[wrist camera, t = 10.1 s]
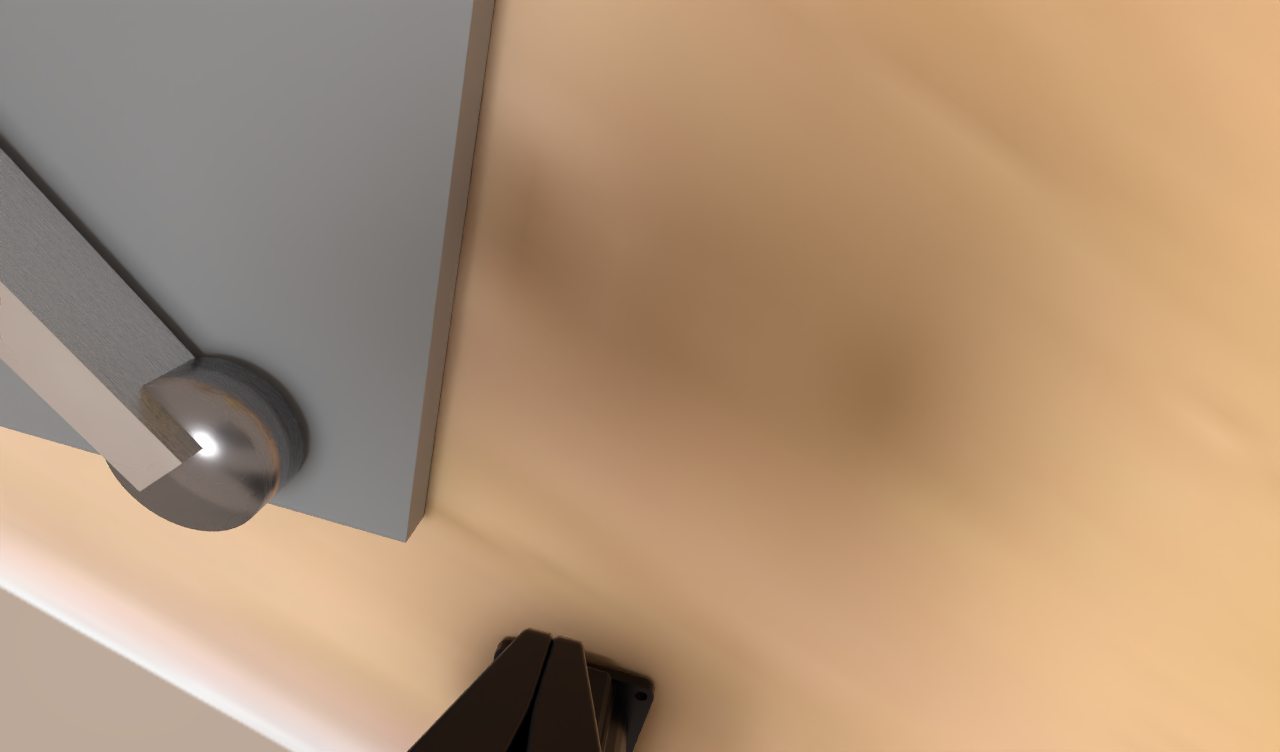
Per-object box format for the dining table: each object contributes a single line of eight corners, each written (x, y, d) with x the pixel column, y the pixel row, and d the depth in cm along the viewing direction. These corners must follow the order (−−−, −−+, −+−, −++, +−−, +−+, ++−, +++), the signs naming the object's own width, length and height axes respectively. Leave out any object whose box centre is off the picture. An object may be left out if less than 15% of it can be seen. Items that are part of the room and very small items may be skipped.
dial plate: (423, 516, 24) (404, 544, 22) (-103, 364, 24) (-156, 383, 22) (515, -146, 15) (493, -168, 14) (-318, -389, 15) (-427, -437, 14)
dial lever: (334, 455, 21) (279, 510, 18) (235, 514, 22) (170, 573, 20) (-192, -131, 15) (-380, -171, 13) (-274, 4, 17) (-457, -9, 14)
